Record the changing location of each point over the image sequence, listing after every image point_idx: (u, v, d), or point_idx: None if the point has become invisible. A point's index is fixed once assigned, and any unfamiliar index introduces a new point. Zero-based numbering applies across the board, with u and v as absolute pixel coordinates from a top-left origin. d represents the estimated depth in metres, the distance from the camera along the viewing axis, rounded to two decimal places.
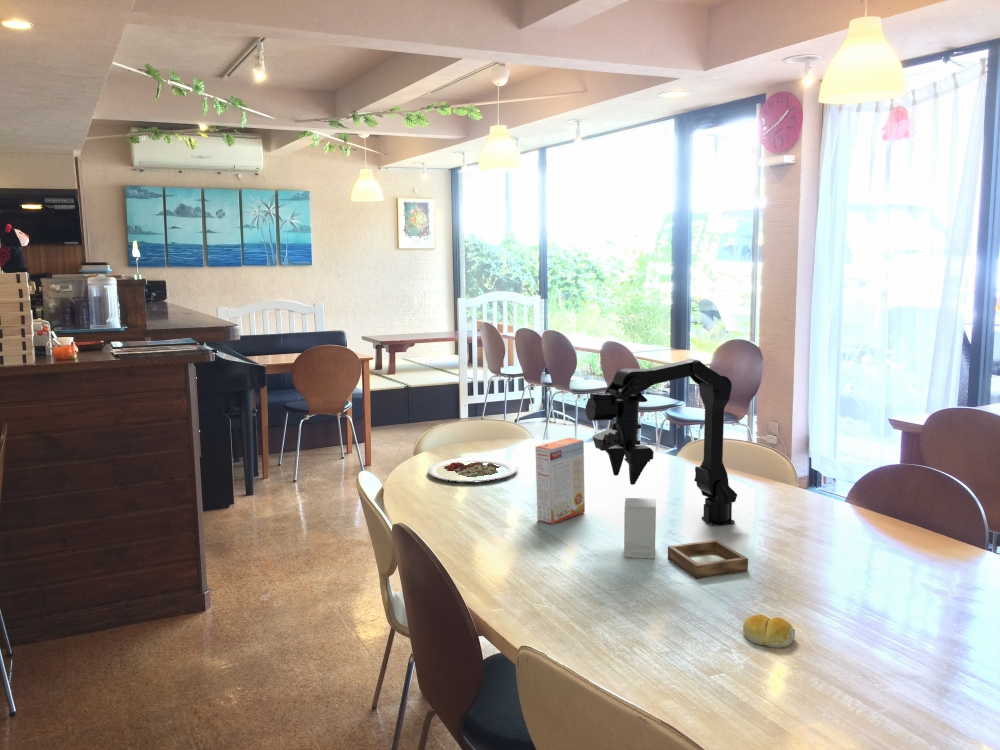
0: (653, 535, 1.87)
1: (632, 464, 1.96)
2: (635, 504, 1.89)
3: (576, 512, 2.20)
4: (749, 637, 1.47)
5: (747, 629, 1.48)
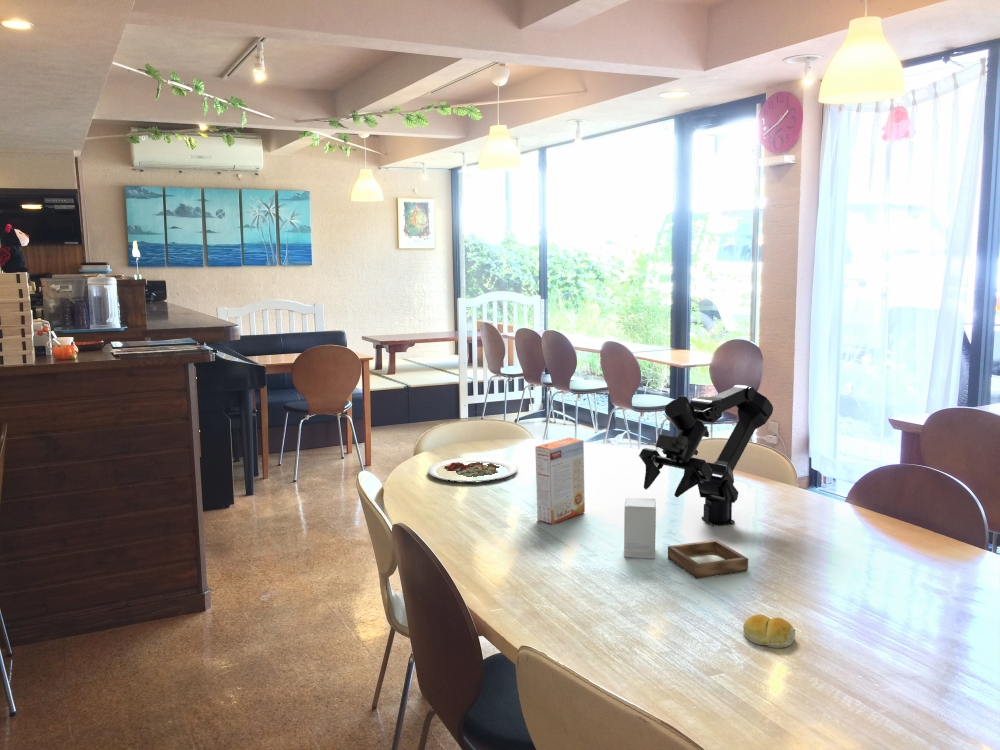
0: (653, 535, 1.87)
1: (690, 475, 1.92)
2: (635, 504, 1.89)
3: (576, 512, 2.20)
4: (749, 637, 1.47)
5: (748, 629, 1.47)
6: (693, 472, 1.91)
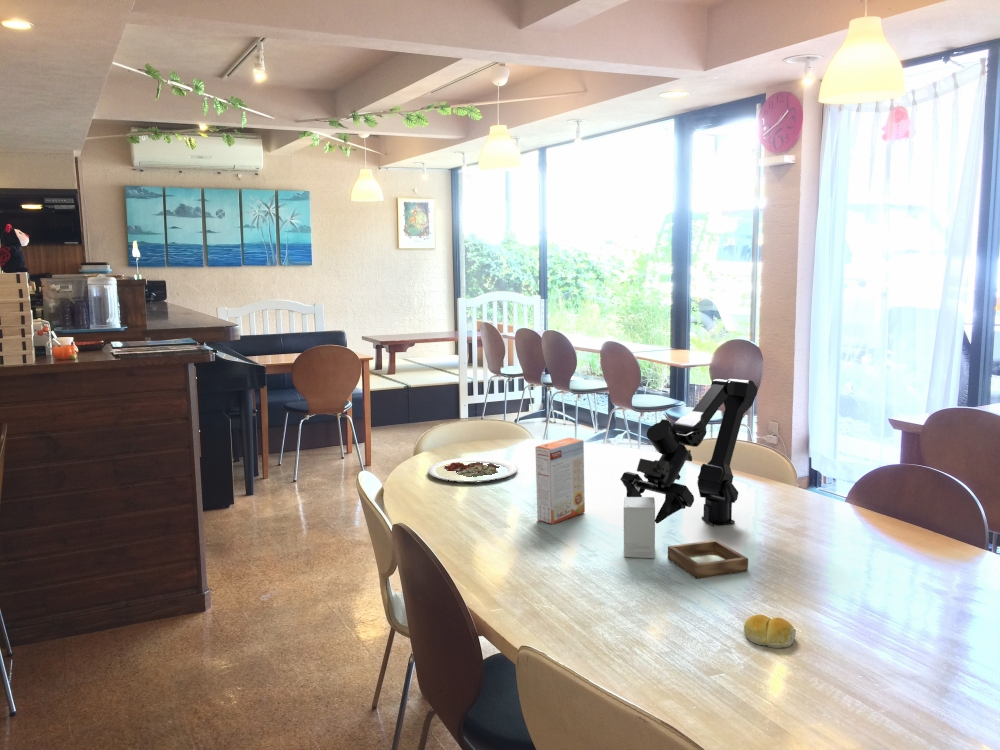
0: (653, 535, 1.87)
1: (671, 501, 1.88)
2: (634, 504, 1.88)
3: (576, 512, 2.20)
4: (750, 637, 1.47)
5: (748, 629, 1.47)
6: (674, 498, 1.87)
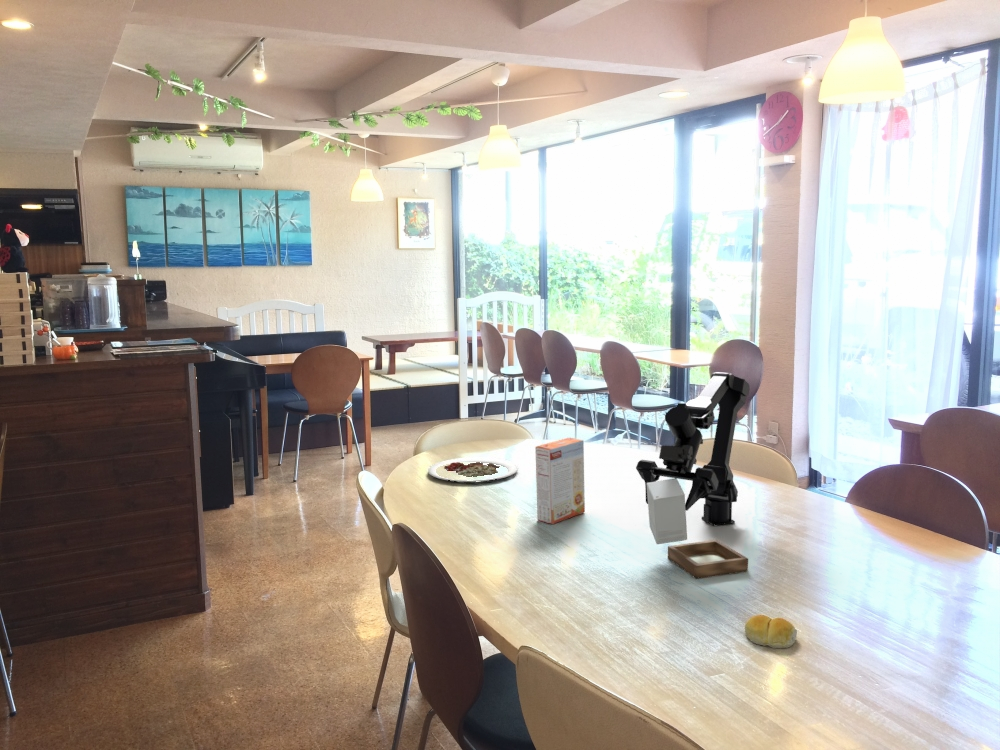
0: (684, 519, 1.82)
1: (699, 486, 1.83)
2: (662, 493, 1.80)
3: (576, 512, 2.20)
4: (751, 637, 1.47)
5: (749, 629, 1.47)
6: (702, 483, 1.82)
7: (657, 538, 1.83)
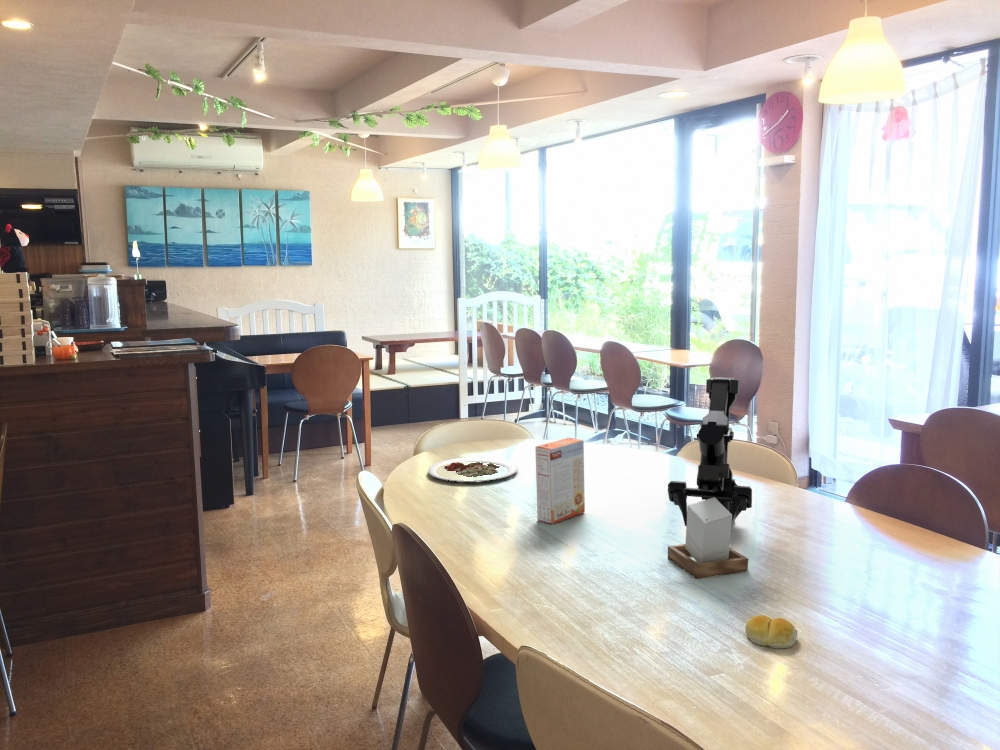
0: (729, 539, 1.79)
1: None
2: (710, 515, 1.76)
3: (576, 512, 2.20)
4: (752, 638, 1.47)
5: (750, 630, 1.47)
6: (742, 501, 1.81)
7: (702, 561, 1.79)
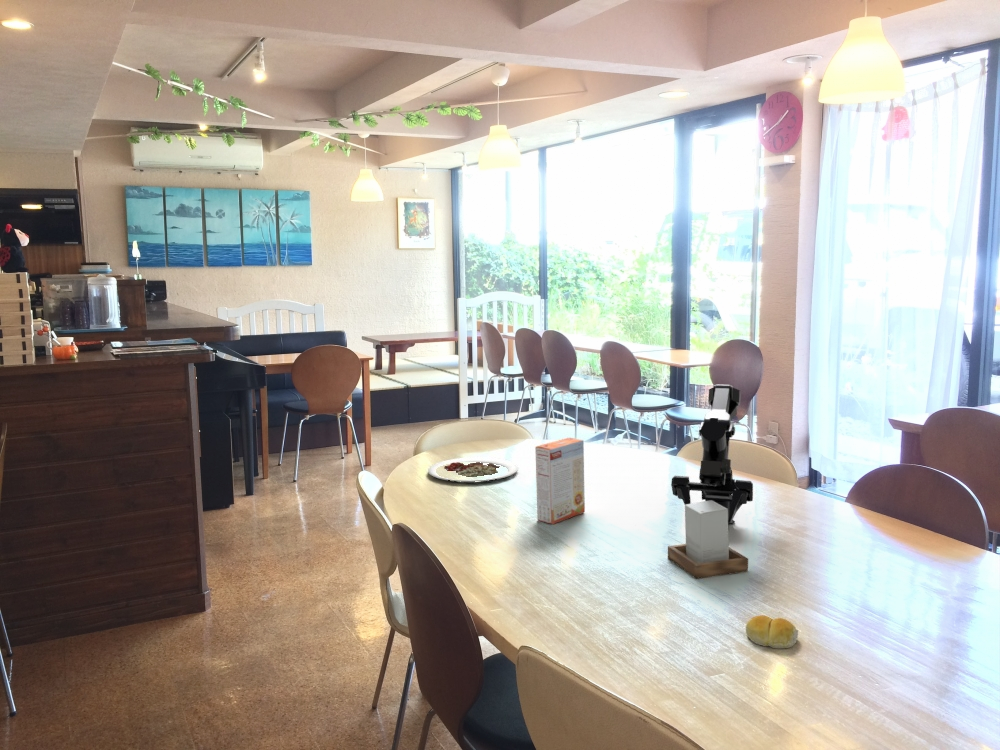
0: (727, 537, 1.82)
1: None
2: (706, 509, 1.81)
3: (576, 512, 2.20)
4: (752, 638, 1.46)
5: (750, 630, 1.47)
6: (742, 495, 1.87)
7: (702, 558, 1.80)
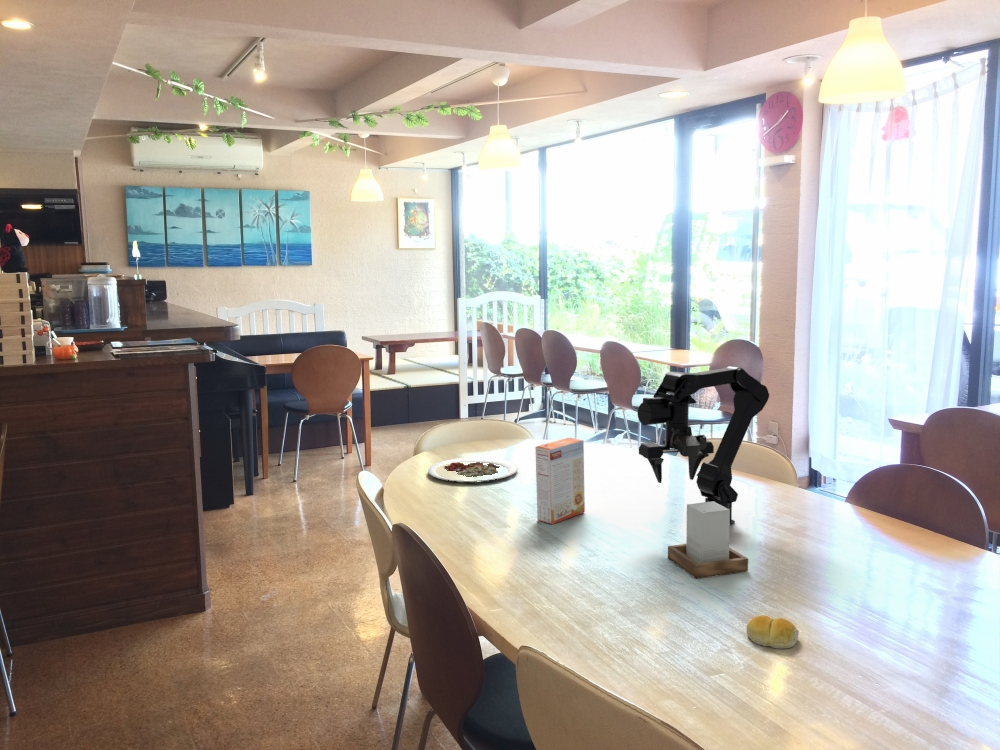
0: (728, 538, 1.82)
1: None
2: (708, 509, 1.81)
3: (576, 512, 2.20)
4: (753, 638, 1.46)
5: (751, 630, 1.47)
6: None
7: (702, 558, 1.80)
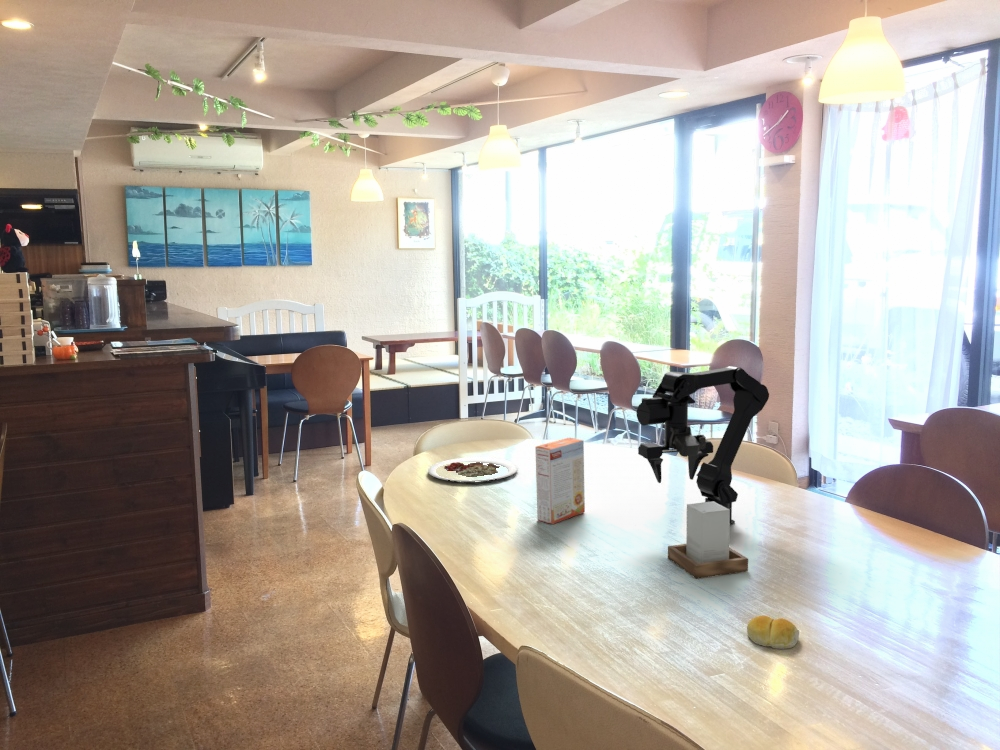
0: (728, 538, 1.82)
1: None
2: (708, 509, 1.81)
3: (576, 512, 2.20)
4: (753, 638, 1.46)
5: (751, 630, 1.47)
6: None
7: (702, 558, 1.80)
